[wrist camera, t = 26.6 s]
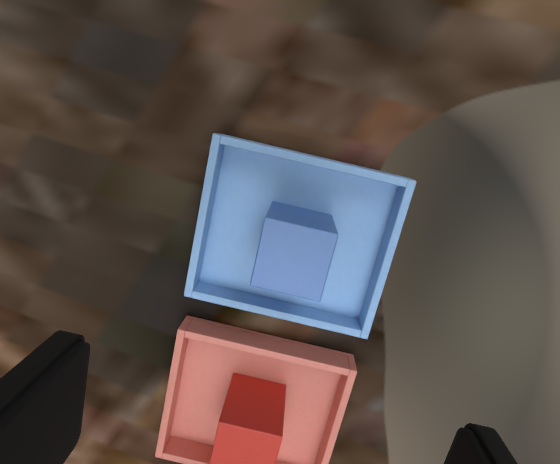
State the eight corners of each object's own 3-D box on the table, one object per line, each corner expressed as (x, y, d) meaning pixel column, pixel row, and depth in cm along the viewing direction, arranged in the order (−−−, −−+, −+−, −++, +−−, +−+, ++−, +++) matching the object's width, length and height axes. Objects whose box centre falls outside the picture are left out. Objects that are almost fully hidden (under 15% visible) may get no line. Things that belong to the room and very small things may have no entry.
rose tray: (164, 435, 36) (154, 457, 34) (186, 314, 33) (177, 329, 31) (317, 471, 36) (318, 496, 34) (353, 354, 33) (357, 371, 31)
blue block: (259, 257, 31) (249, 286, 25) (272, 200, 30) (264, 216, 24) (317, 271, 31) (320, 302, 25) (332, 214, 30) (339, 233, 24)
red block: (223, 417, 35) (206, 474, 29) (233, 371, 33) (218, 421, 28) (274, 429, 35) (268, 489, 29) (286, 384, 33) (283, 437, 28)
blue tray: (192, 284, 32) (183, 296, 30) (220, 133, 29) (212, 133, 27) (362, 324, 32) (367, 339, 30) (407, 177, 29) (416, 180, 27)
